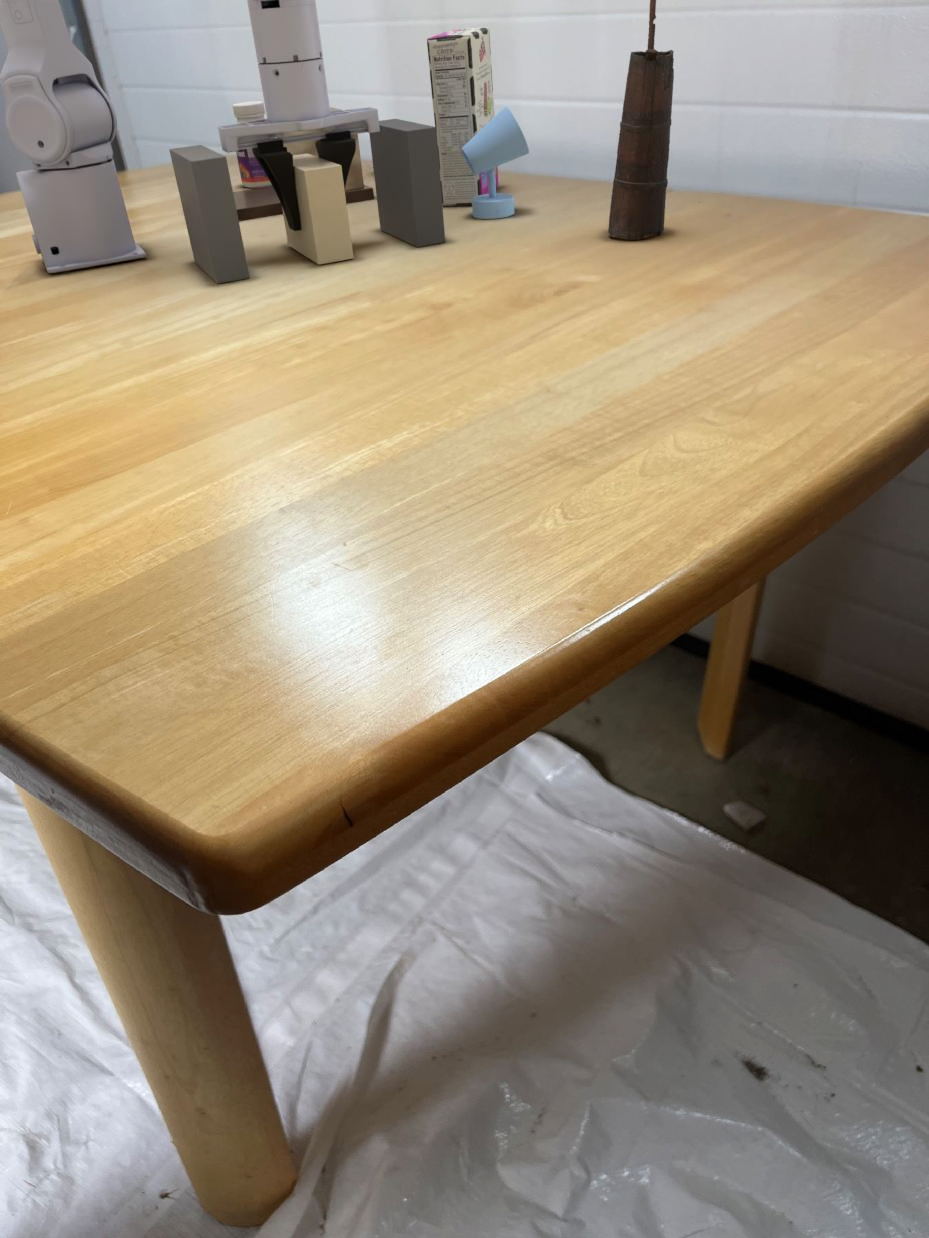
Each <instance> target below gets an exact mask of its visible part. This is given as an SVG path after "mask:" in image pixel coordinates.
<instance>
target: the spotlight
mask: <svg viewBox="0 0 929 1238" xmlns="http://www.w3.org/2000/svg"><path fill="white" fill-rule="evenodd" d="M461 150H462V153H463V155H464V158H465V160H466V162H467V164H468V165H469V167H470V169H471V171H472V172H473V174H474V175H477V174H480V173H482V172H485V171H486V172H487V173H488V184H489V194H484V195H479V196H476V197H474V198H472V205H471V210H472V211H471V212H472V218H475V219H480V220H482V219H483V220H495V219H502V218H507V217H511V216H513V215H515V196H514V195H513V194H511V193H506V192H504V193H503V192H502V193H501V192H497V187H496V178H495V170H494V167H497V168H498V167H499V166H501V165H504V164H507V163H509V162H511V161H514V160H516V159H519V158H521V157H523V156H526V155H529V153H530V149H529V146H528V143H527V140H526V137H525V135H524V132H523V130H522V129H521V127H520V125H519V123H518V121H517V119H516V117H515V116H514V114H513V113H512V111H511V110H510V108H508V107H507V106H505V105H504V107H503V108H502V109H501V110H500V111H499V112H498V113H497V114H495V115H494V118H493V119H492V120H490V121H489V122H488V123H487V124H486V125H485V126H484V127H483V128H482V129H481V130H480V131H479V132H478V133H477V134H476V135H475V136H474V137H473V138H472V139H471V140H470V141H469V142H468V143H467V144H465V145H464V146H463V147H462V148H461Z"/></svg>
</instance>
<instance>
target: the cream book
mask: <svg viewBox="0 0 929 1238" xmlns="http://www.w3.org/2000/svg"><path fill="white" fill-rule="evenodd" d="M293 170H294V182H295V192H296V198H297V202H298V207H299V212H300V219H301V230H299V231H294V230H292V229H290V228H289V225H288V222H287V219H286V216H285V213H284V210H283V208H282V210H283V213H282V216H283V221H284V228H285V233H286V239H287V245H288V246H289V247H290V248H292V249H293V250H295V251H297V252H298V253H299V254H301V255H303V256H304V257H306V258H307V259H309V260H311V261H312V262H314V263H315V264H317V265H318V266H319V265H326V264H331V263H336V262H341V261H342V262H343V261H347V260H353V259H354V250H353V243H352V235H351V229H350V227H351V226H350V220H349V213H348V205H347V203H346V197H345V189H344V182H343V174H342V167H341V165H339V164H336V163H333V162H330V161H328V160H325V159H322V158H319V157H316V156H313V155H311V154H308V153H307V154H300V155H293Z"/></svg>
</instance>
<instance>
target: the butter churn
mask: <svg viewBox="0 0 929 1238" xmlns="http://www.w3.org/2000/svg"><path fill="white" fill-rule="evenodd" d="M656 8H657V0H649V14H648V16H649V20H648V35H647V37H648V38H647V49H646V50H645V51H642V50H640V51H639V50H637V51H631V52H630V56H629V62H628V68H627V69H628V70H627V75H626V82H625V83H626V84H625V91H624V98H623V103H622V113H621V121H620V122H619V134H618V142H617V143H618V144H617V149H616V163H615V168H614V169H615V170H614V175H613V176H614V177H613V181H612V191H611V192H612V193H611V198H610V199H611V201H610V208H609V217H608V230H607V231H608V232H607V233H608V236H609V237H611V238H617V239H620V240H621V239H623V240H641V239H644V238H646V237H654V236H660V235H663V234H664V232H665V217H666V216H665V214H666V198H667V196H666V195H667V188H668V184H669V180H668V167H669V159H670V143H671V140H670V139H671V126H672V110H673V93H674V80H675V75H674V74H675V69H674V63H675V62H674V60H675V59H674V50H673V49H670V50H666V51H663V50H662V51H658V50H657V49H655V38H656V37H655V36H656V23H655V22H654V21H655V20H656V19H657V15H656V13H657V12H656V10H657V9H656Z"/></svg>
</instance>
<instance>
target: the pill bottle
mask: <svg viewBox="0 0 929 1238" xmlns="http://www.w3.org/2000/svg"><path fill="white" fill-rule="evenodd" d="M232 110H233V115H234V118H236V122H235V123H234V124H240V123H246V122H252V121H257V120H263V119H266V118H265V115H266V109H265V103H264V101H261V100H254V101H244V102H243V101H242V102H238V103H234V104H232ZM271 138H274V137H271ZM235 154H236V160H237V165H238V169H239V174H240V180H241V184H242V186H243V187H245V188H248V189H256V188H263V187H269V186H272V184H271V182H270V181H269V179H268V177H267V175H266V174H265V172H264V170H263V169H262V167H261V166H260V164H259V163H258V161H257V160H256V158H255V156H254V154H253V151H252V148H250V149H242V150H239V151H236V152H235Z"/></svg>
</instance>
